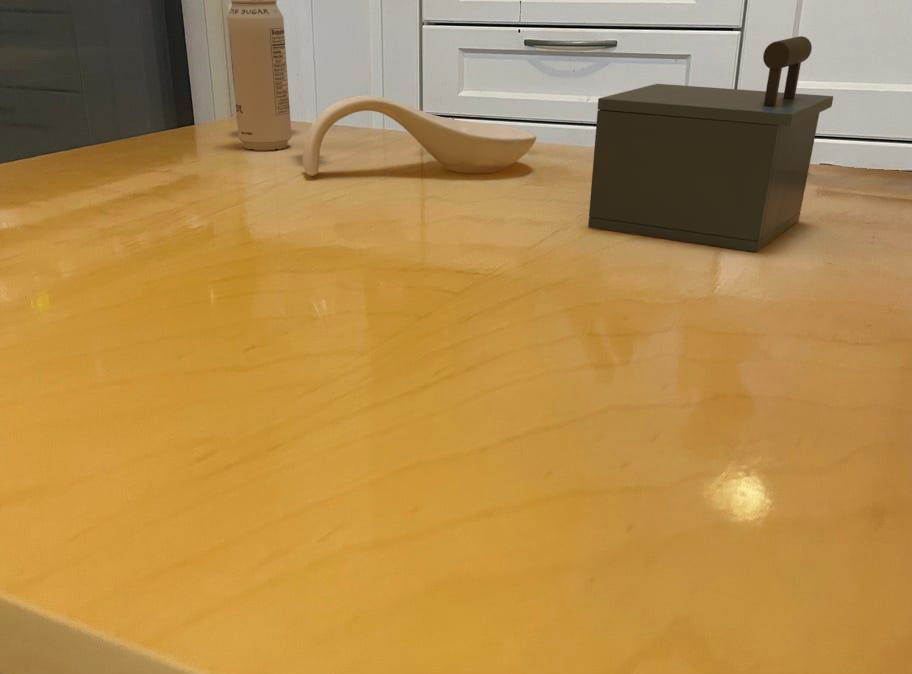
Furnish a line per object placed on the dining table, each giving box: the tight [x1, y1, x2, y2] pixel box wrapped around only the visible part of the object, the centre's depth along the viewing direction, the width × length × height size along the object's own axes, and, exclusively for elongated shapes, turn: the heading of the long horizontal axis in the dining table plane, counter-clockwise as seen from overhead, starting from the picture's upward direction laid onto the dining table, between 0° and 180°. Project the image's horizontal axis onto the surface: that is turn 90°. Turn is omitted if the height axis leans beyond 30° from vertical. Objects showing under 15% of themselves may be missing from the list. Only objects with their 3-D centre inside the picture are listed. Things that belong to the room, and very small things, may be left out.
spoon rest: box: [302, 94, 537, 177], centre depth 94 cm, size 24×12×7 cm, turn 104°
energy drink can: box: [226, 0, 292, 151], centre depth 105 cm, size 6×6×15 cm
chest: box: [587, 109, 821, 253], centre depth 74 cm, size 14×12×9 cm
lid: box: [597, 35, 834, 126], centre depth 71 cm, size 14×12×5 cm
